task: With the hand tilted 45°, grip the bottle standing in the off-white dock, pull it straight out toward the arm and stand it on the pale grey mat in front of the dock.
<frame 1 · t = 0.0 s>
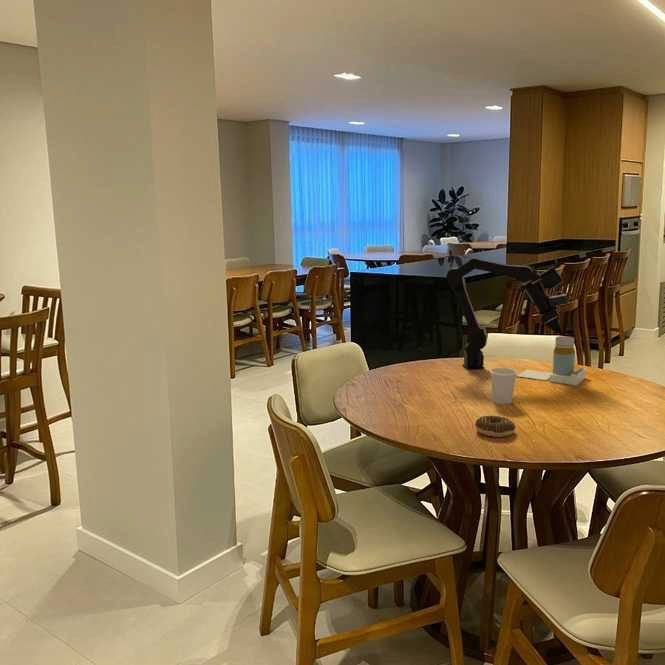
hand: (561, 332, 241), 15 cm above the table, tool tilted 35°, fingers open, 9 cm apart
bottle: (562, 379, 233), on the table
dixie cup: (502, 402, 207), on the table
donut: (494, 433, 179), on the table
mat: (536, 375, 238), on the table
dock: (562, 379, 233), on the table
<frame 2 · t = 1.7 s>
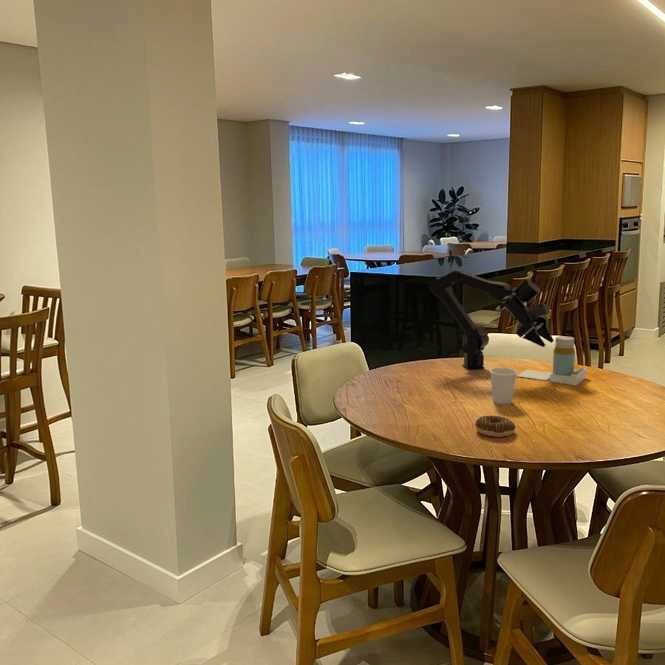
hand: (548, 344, 234), 12 cm above the table, tool tilted 45°, fingers open, 9 cm apart
nothing on the table moved.
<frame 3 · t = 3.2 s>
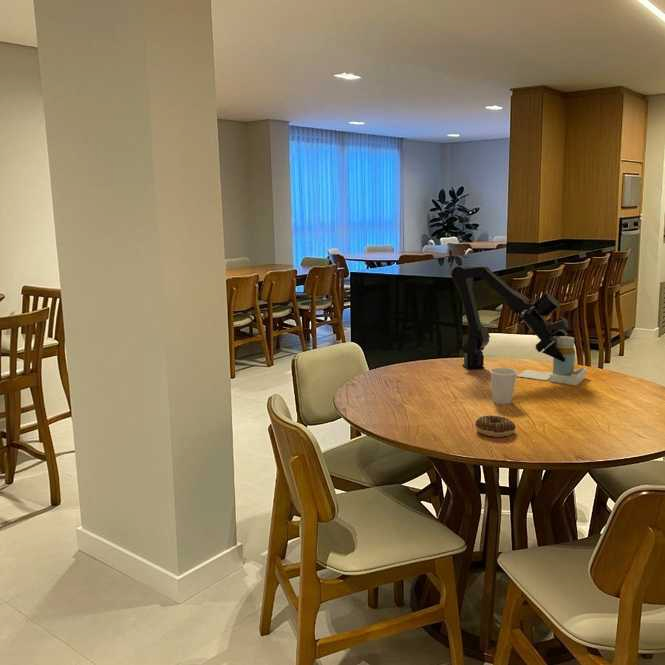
hand: (567, 358, 231), 8 cm above the table, tool tilted 45°, fingers open, 8 cm apart
bottle: (562, 379, 233), on the table, touching gripper
everything else where it was.
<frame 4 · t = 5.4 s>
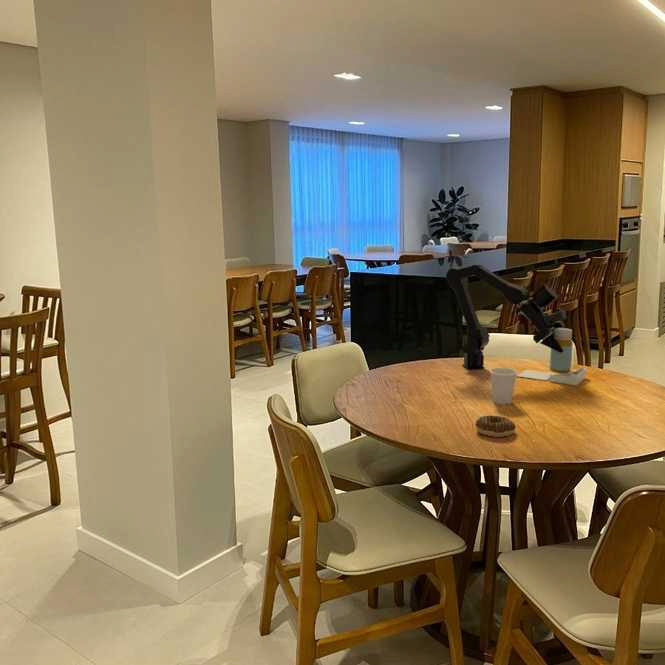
hand: (565, 350, 231), 11 cm above the table, tool tilted 45°, fingers closed on bottle, 7 cm apart
bottle: (559, 371, 233), point 3 cm above the table, touching gripper
everything else where it was.
when the fingers open (9 cm above the table, at t = 7.6 s): bottle stays where it is, resting on mat.
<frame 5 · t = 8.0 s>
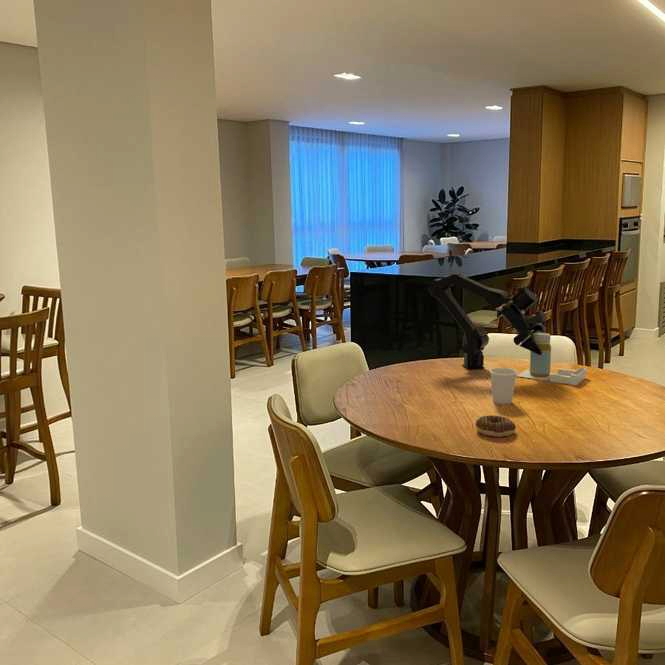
hand: (545, 351, 235), 9 cm above the table, tool tilted 45°, fingers open, 9 cm apart
bottle: (539, 375, 238), resting on mat
everything else where it was.
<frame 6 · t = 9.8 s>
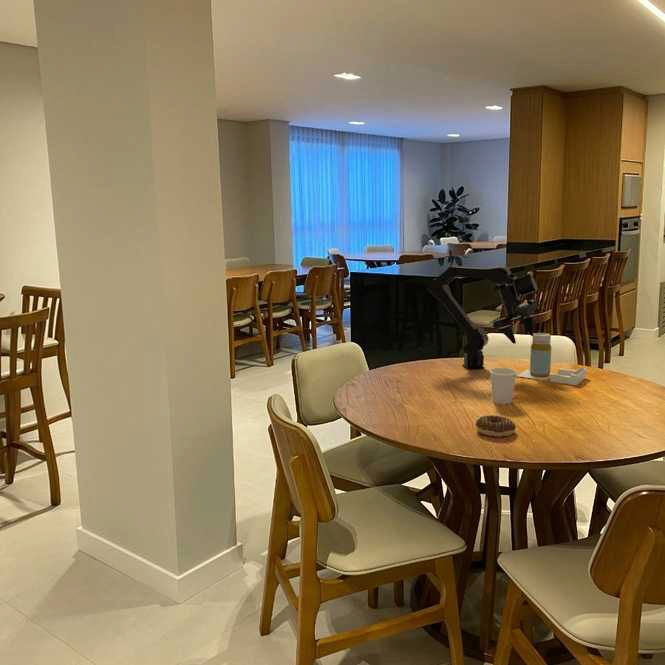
hand: (523, 339, 241), 12 cm above the table, tool tilted 20°, fingers open, 9 cm apart
nothing on the table moved.
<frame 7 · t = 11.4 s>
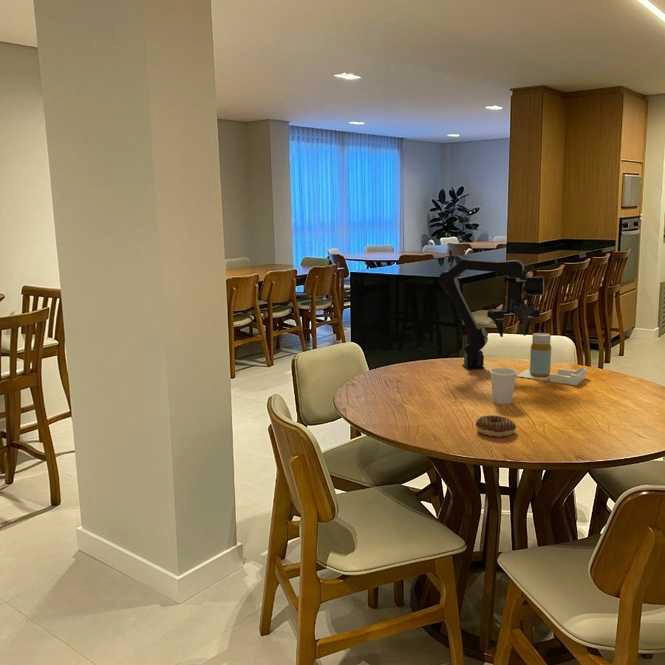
hand: (513, 336, 245), 13 cm above the table, tool pointing down, fingers open, 9 cm apart
nothing on the table moved.
at the end: bottle inside the target area on the mat (0.6 cm from its centre), point 0.2 cm above the mat's base; bottle tilted 0°; the gripper is holding nothing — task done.
